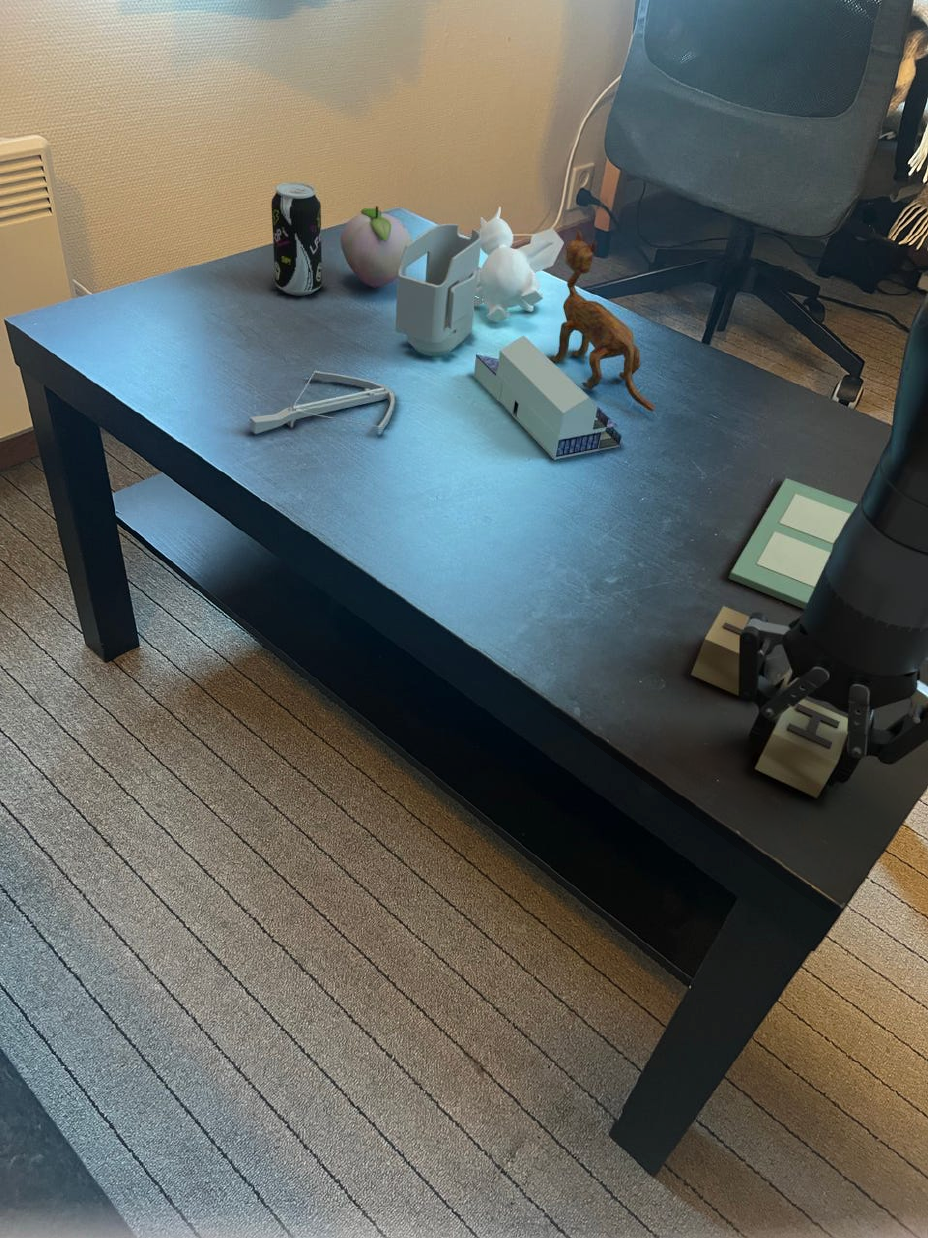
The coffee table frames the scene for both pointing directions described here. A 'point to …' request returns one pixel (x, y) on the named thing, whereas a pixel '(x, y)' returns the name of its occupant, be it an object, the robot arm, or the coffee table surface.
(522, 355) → the building
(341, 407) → the crossbow
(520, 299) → the character figurine
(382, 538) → the coffee table surface
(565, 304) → the cat figurine
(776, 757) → the light wooden cube
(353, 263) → the decorative fruit
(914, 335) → the robot arm
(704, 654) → the tan cube
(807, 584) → the word board
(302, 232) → the beverage can
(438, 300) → the cable organizer
